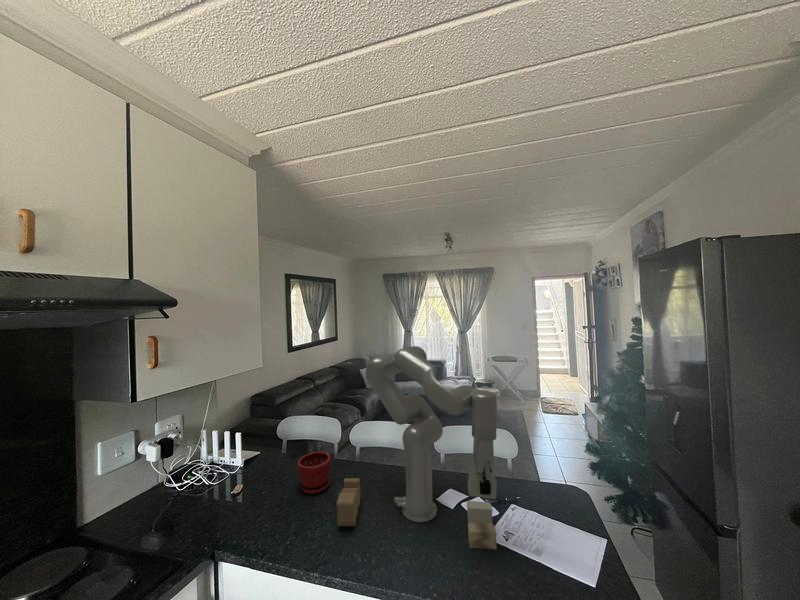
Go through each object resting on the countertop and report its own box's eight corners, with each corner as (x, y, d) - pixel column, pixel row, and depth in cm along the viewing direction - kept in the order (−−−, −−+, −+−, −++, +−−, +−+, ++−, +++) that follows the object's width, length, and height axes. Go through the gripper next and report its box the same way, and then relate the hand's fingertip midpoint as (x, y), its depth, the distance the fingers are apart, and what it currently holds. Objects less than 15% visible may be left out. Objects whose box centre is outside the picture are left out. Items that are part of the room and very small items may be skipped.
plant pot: (317, 475, 137) (316, 448, 138) (337, 485, 130) (337, 456, 130) (291, 490, 127) (291, 460, 127) (312, 501, 119) (311, 470, 119)
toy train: (360, 500, 119) (360, 474, 119) (353, 533, 102) (352, 502, 102) (346, 500, 119) (346, 474, 119) (336, 533, 102) (336, 502, 102)
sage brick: (469, 495, 95) (470, 479, 95) (467, 487, 99) (469, 472, 99) (495, 499, 95) (497, 483, 95) (492, 491, 99) (494, 475, 99)
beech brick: (470, 548, 95) (469, 531, 95) (468, 538, 99) (467, 522, 99) (496, 549, 94) (496, 533, 94) (493, 539, 98) (493, 523, 98)
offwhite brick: (468, 522, 106) (468, 508, 106) (467, 514, 110) (467, 500, 110) (492, 524, 105) (492, 509, 105) (490, 516, 109) (490, 502, 109)
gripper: (468, 420, 106) (467, 473, 106) (476, 443, 89) (476, 506, 89) (490, 421, 105) (490, 474, 105) (503, 444, 88) (502, 507, 88)
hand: (483, 488), depth 97 cm, fingers closed on sage brick, 4 cm apart
